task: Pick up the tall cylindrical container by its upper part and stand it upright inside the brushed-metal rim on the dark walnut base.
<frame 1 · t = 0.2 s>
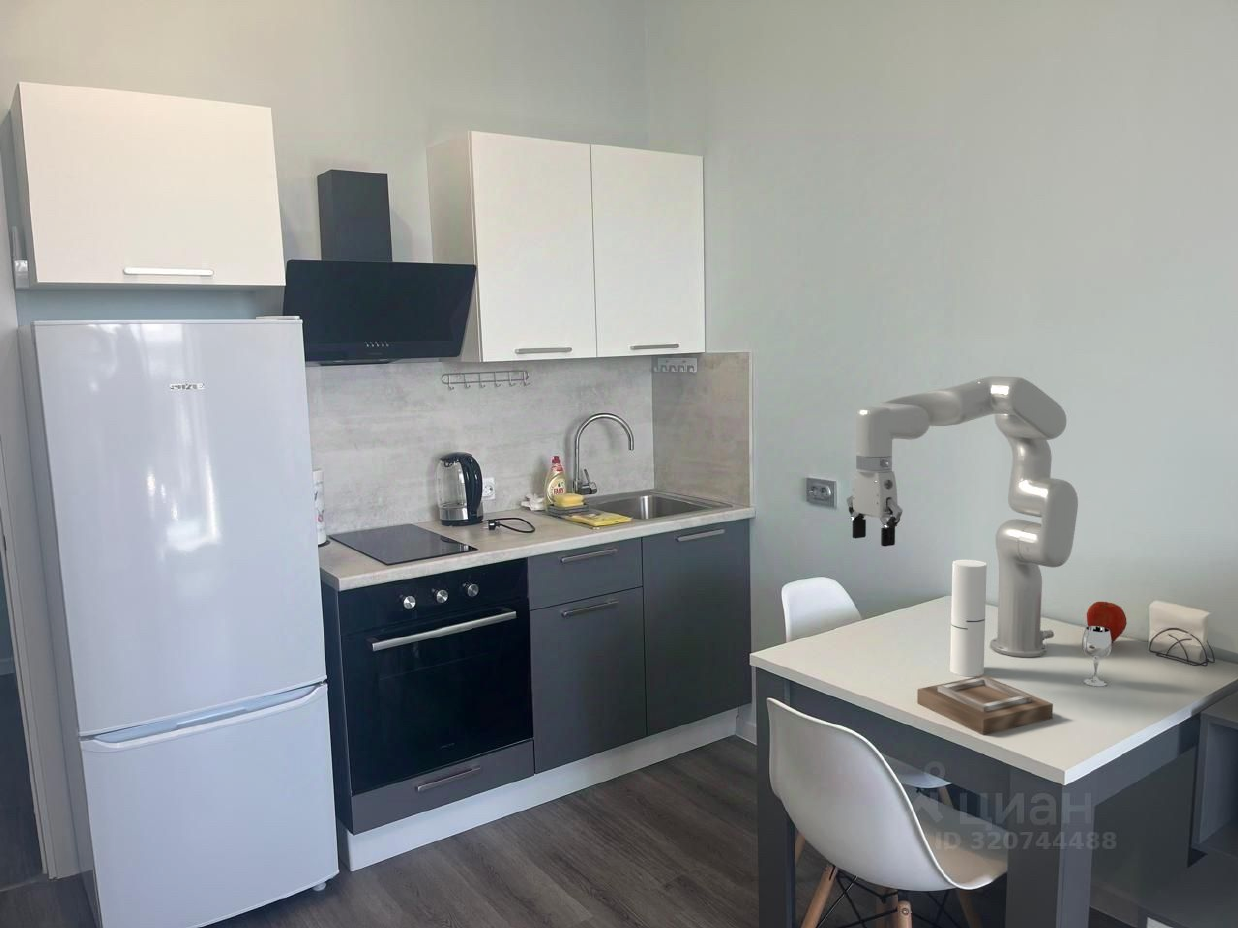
hand: (873, 541, 205), 31 cm above the table, tool pointing down, fingers open, 9 cm apart
wineglass: (1095, 683, 203), on the table
walnut base: (983, 710, 189), on the table
apple: (1104, 645, 228), on the table
cylindrical container: (966, 671, 212), on the table
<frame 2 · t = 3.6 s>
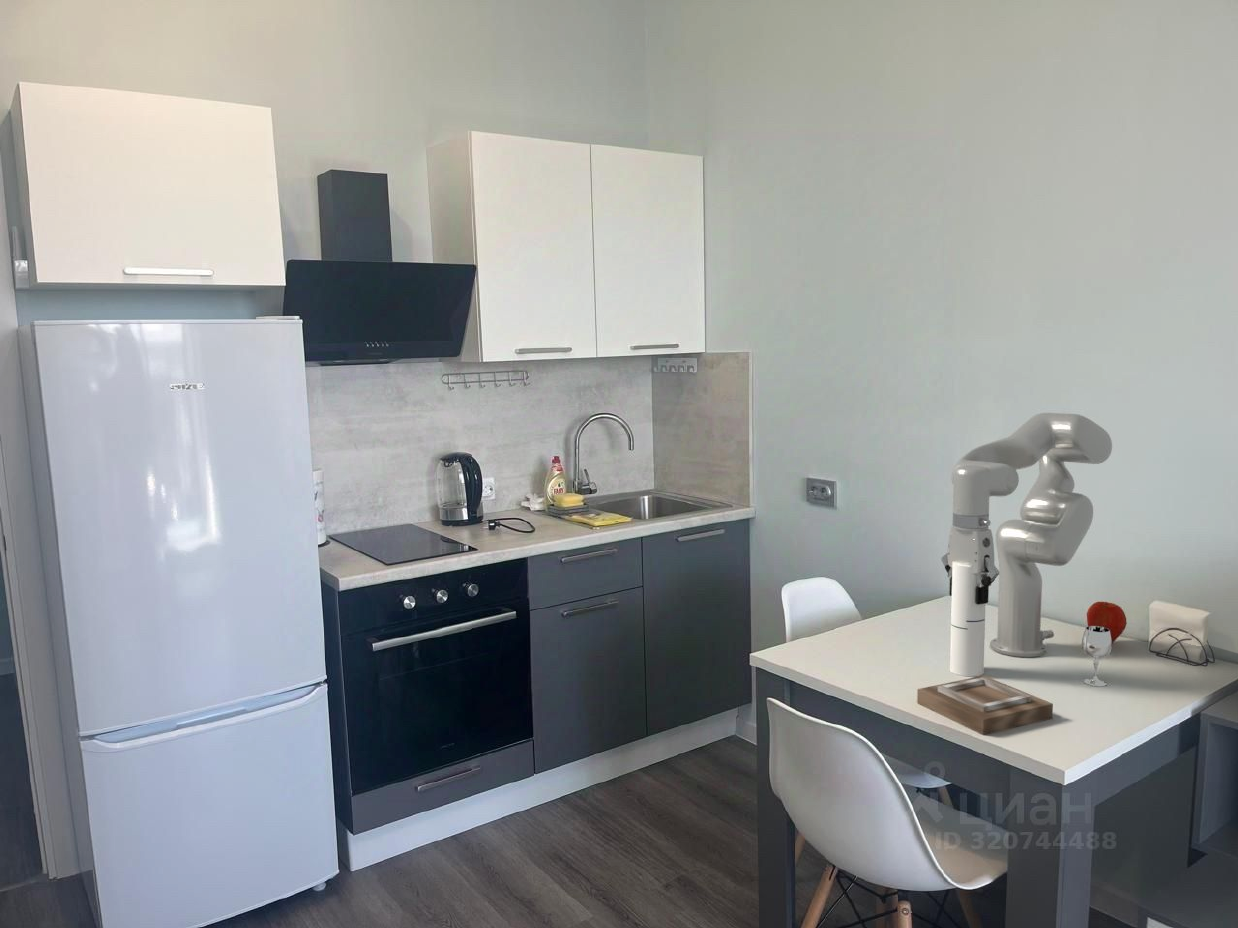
hand: (968, 598, 210), 17 cm above the table, tool pointing down, fingers closed on cylindrical container, 7 cm apart
cylindrical container: (966, 671, 212), on the table, touching gripper
everything else where it was.
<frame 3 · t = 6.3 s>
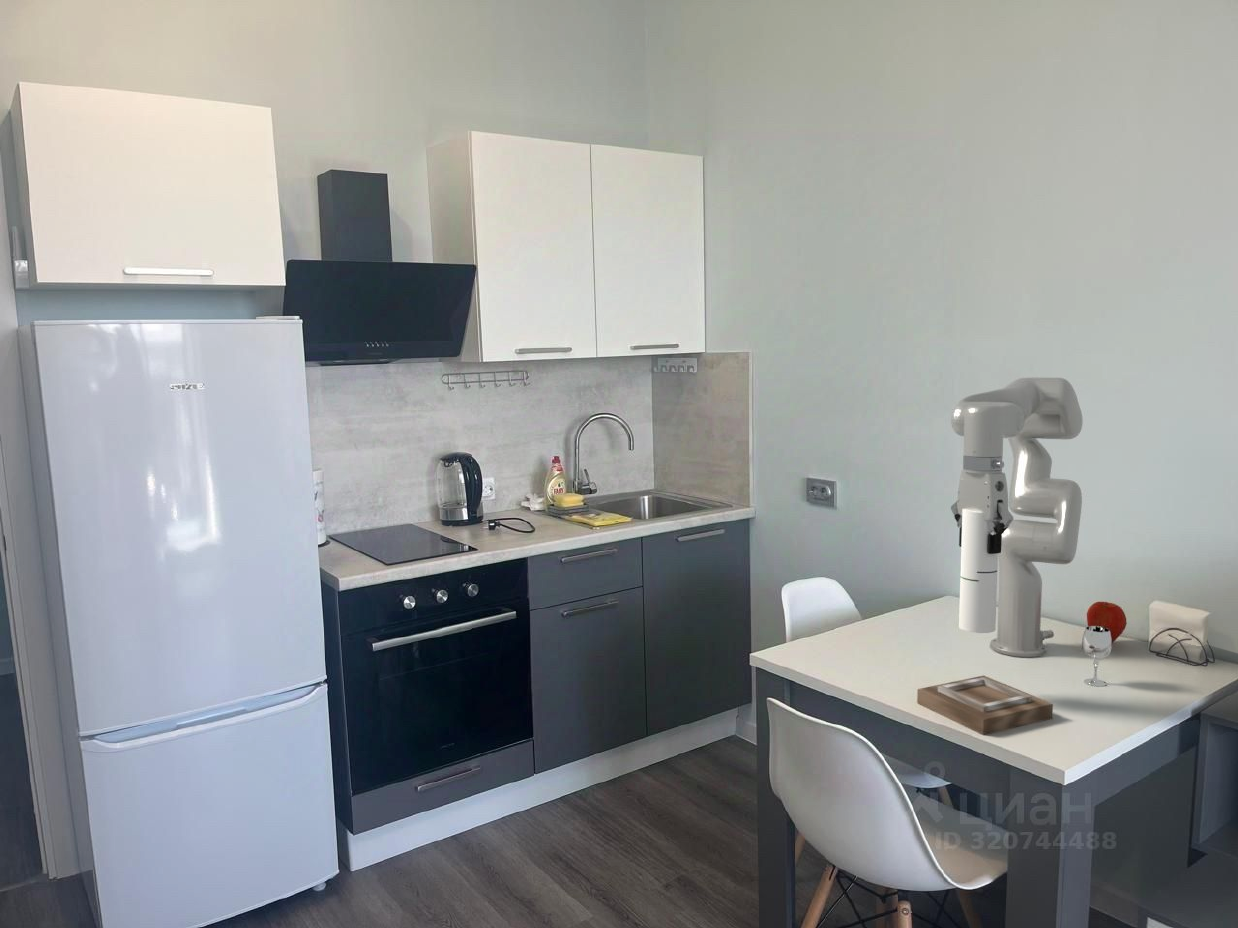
hand: (979, 549, 194), 31 cm above the table, tool pointing down, fingers closed on cylindrical container, 7 cm apart
cylindrical container: (976, 628, 196), point 14 cm above the table, touching gripper
everything else where it was.
when the fingers open (22 cm above the table, at t = 9.2 s): cylindrical container drops 2 cm, resting on walnut base.
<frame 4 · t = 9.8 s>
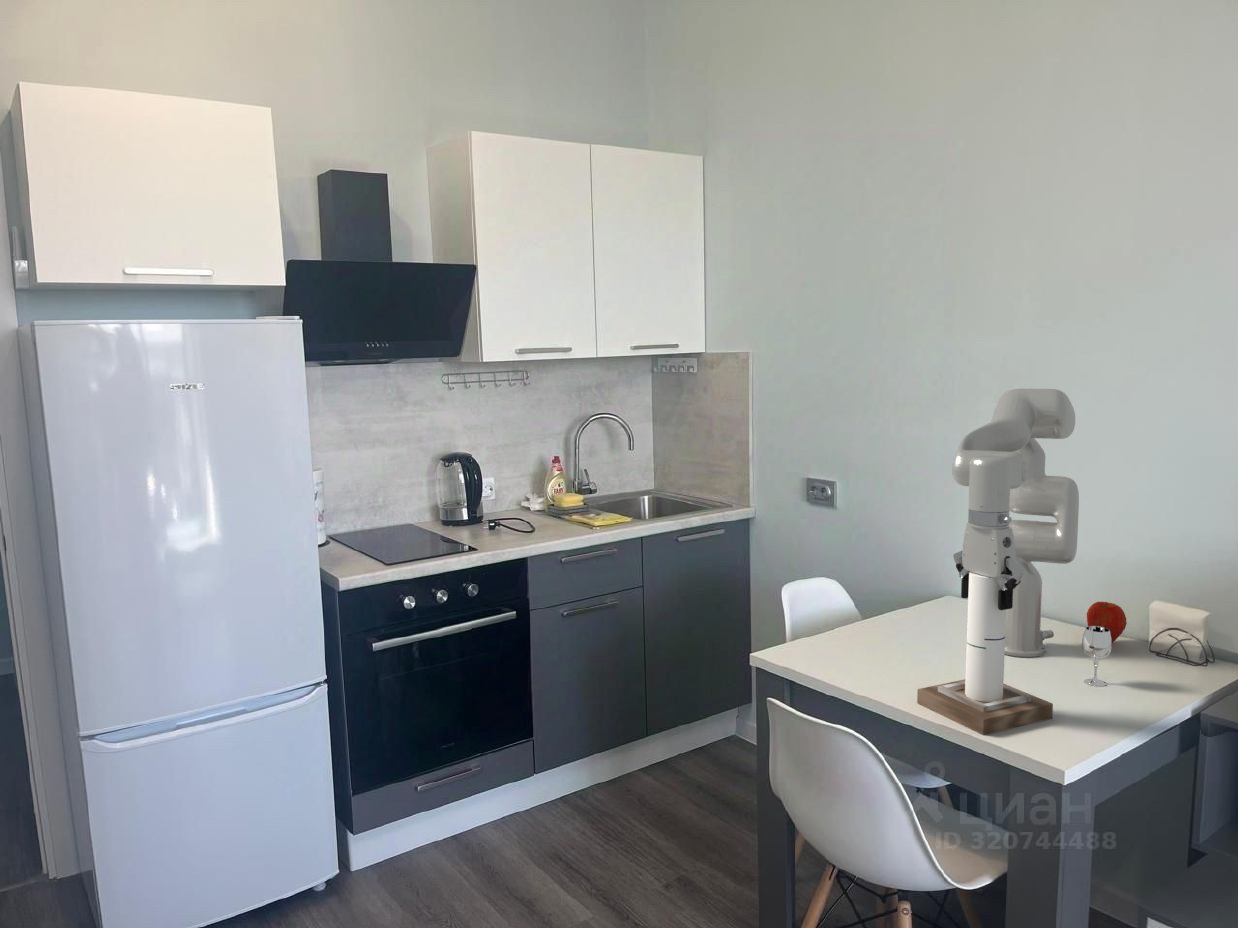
hand: (986, 603, 186), 22 cm above the table, tool pointing down, fingers open, 9 cm apart
cylindrical container: (983, 696, 189), point 3 cm above the table, touching walnut base
everything else where it was.
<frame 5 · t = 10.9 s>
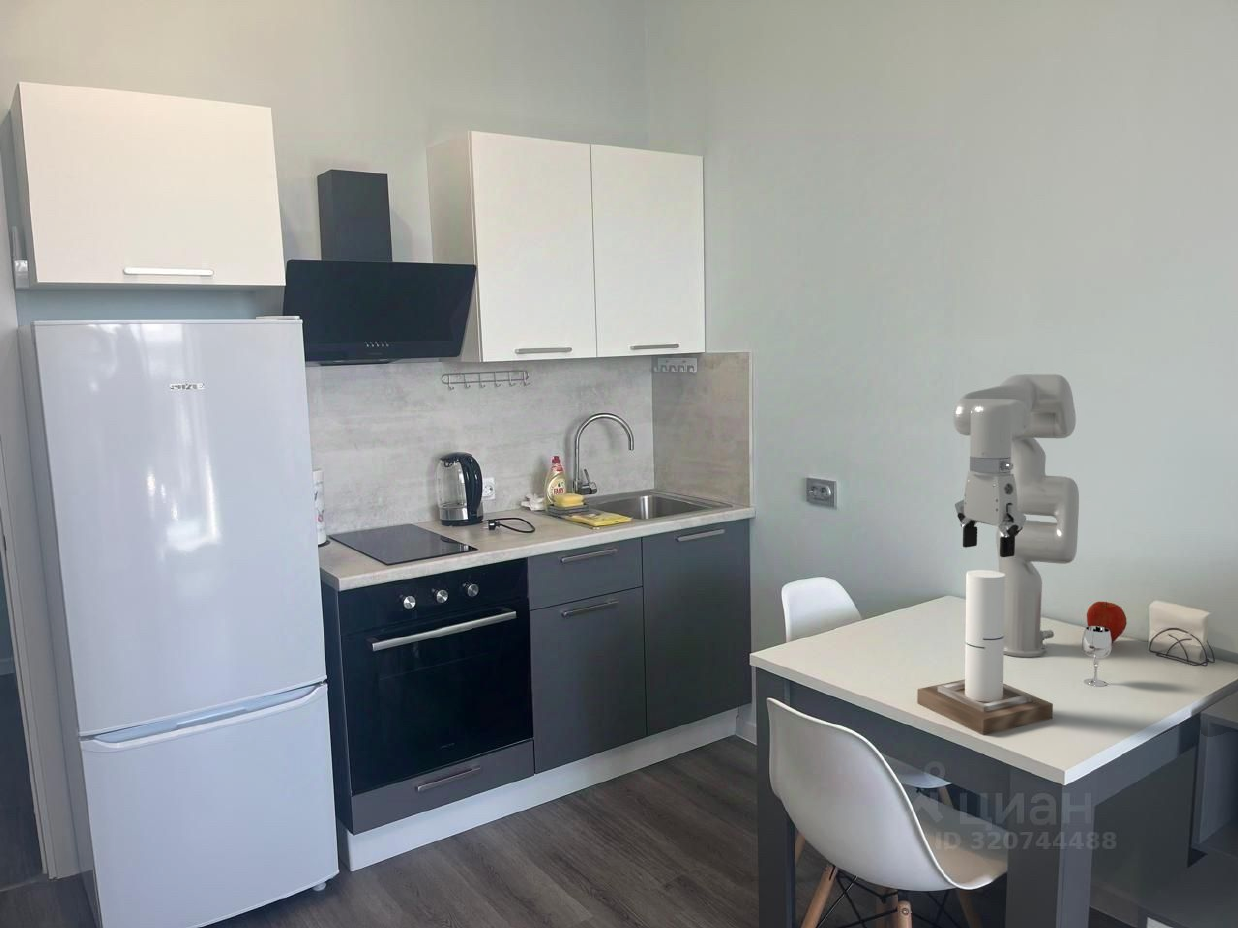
hand: (988, 551, 185), 33 cm above the table, tool pointing down, fingers open, 9 cm apart
nothing on the table moved.
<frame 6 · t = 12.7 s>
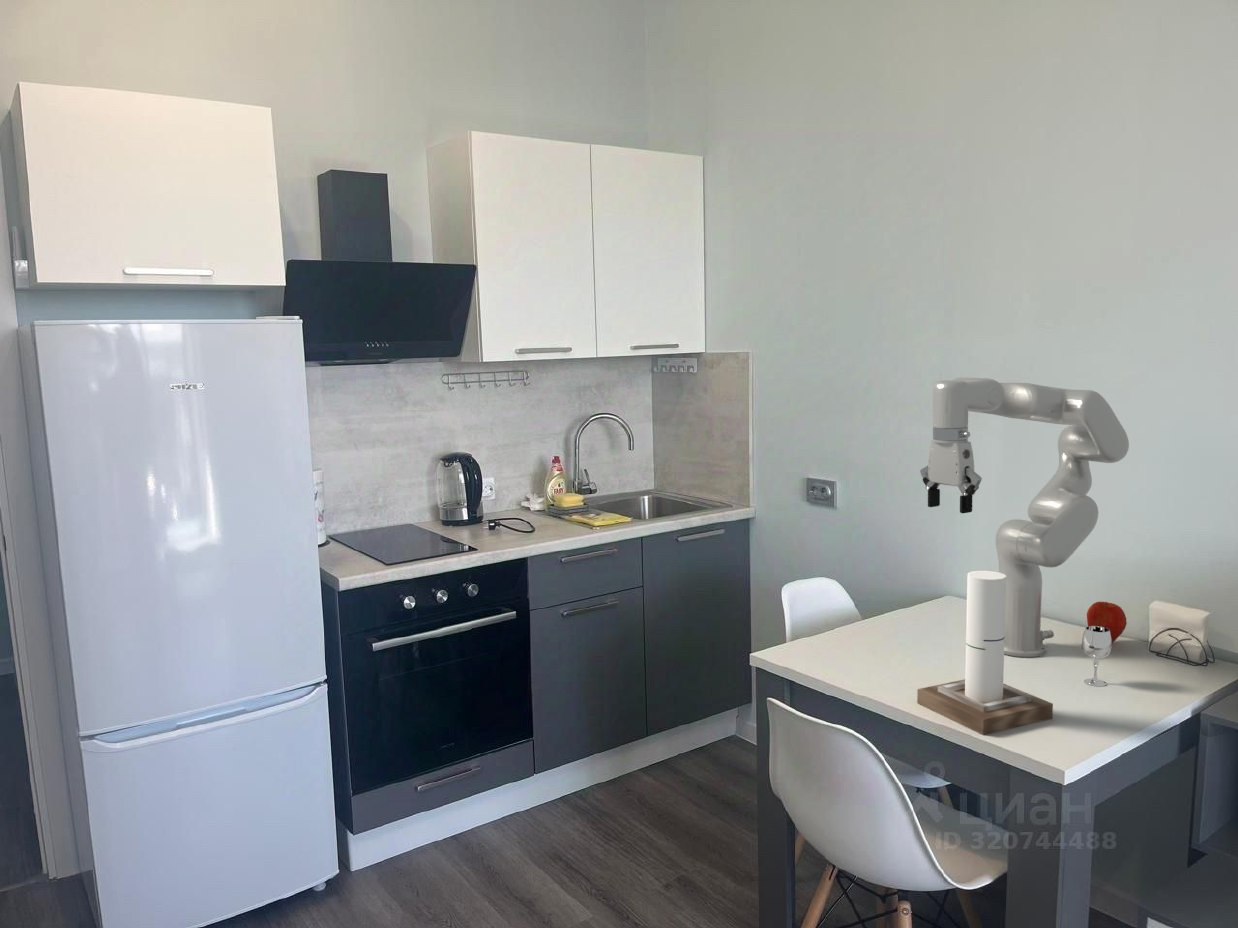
hand: (949, 509, 214), 36 cm above the table, tool pointing down, fingers open, 9 cm apart
nothing on the table moved.
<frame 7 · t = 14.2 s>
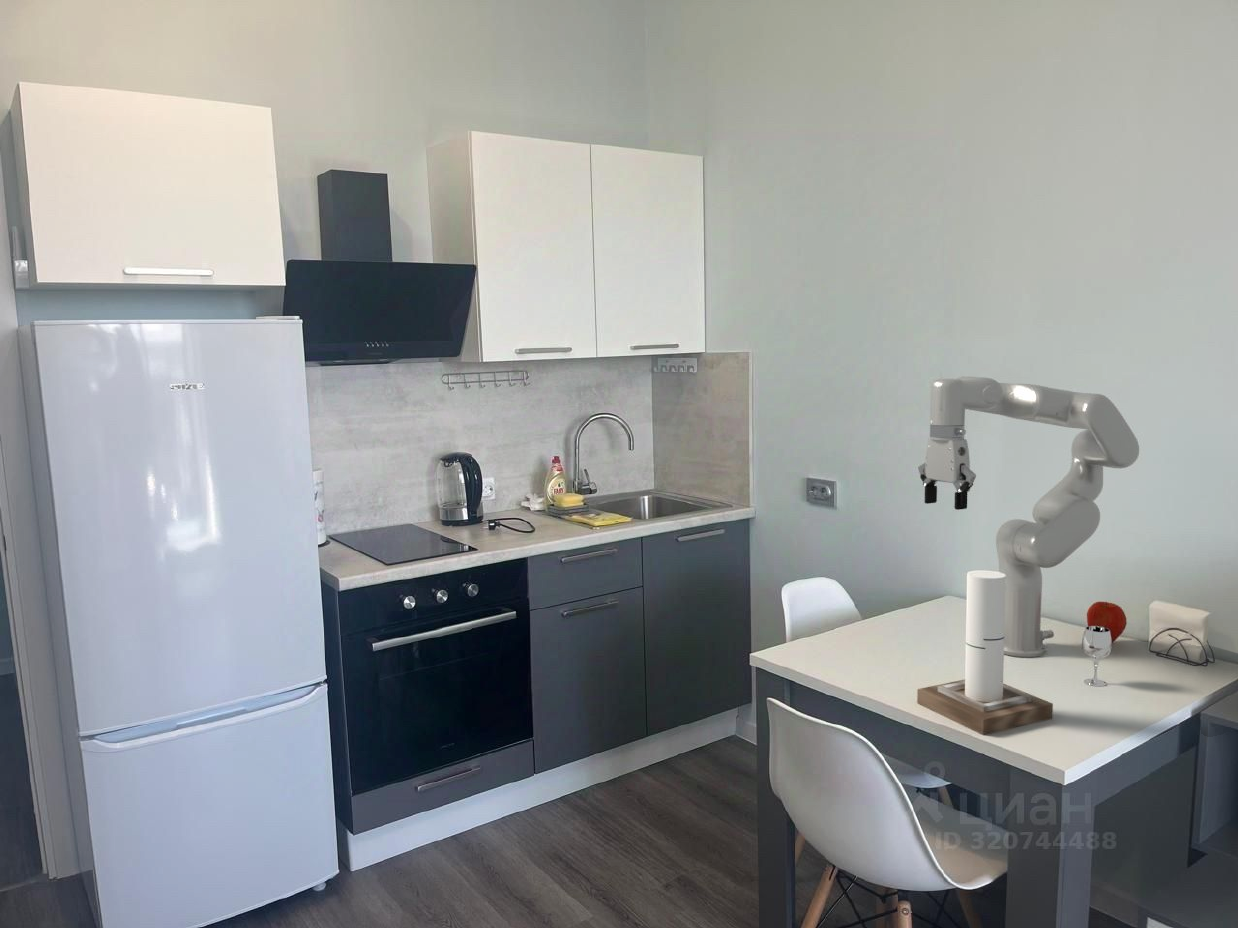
hand: (945, 505, 217), 36 cm above the table, tool pointing down, fingers open, 9 cm apart
nothing on the table moved.
at the end: cylindrical container 0.1 cm off-centre on the walnut base, point 2.9 cm above the walnut base's base; cylindrical container tilted 1°; the gripper is holding nothing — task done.
